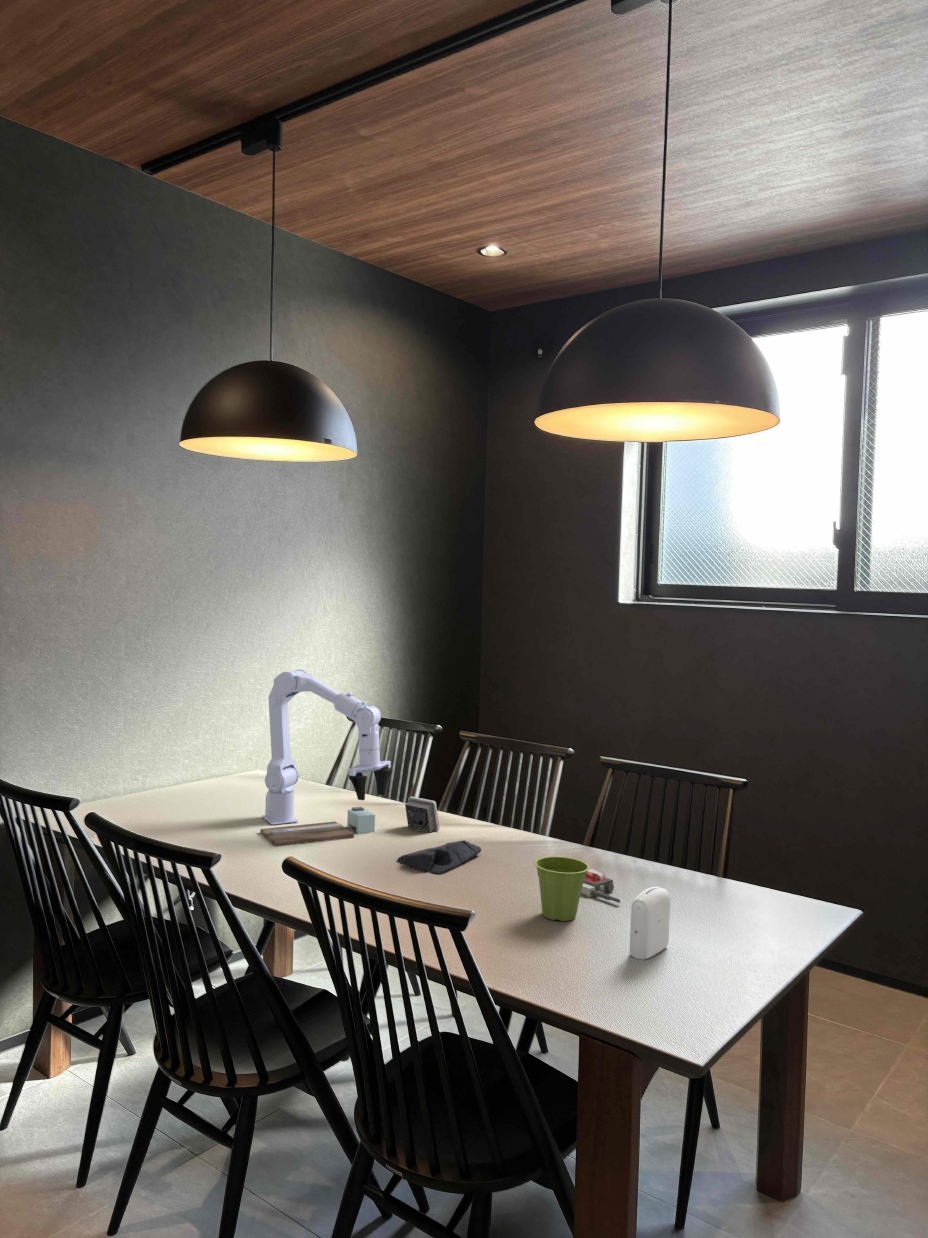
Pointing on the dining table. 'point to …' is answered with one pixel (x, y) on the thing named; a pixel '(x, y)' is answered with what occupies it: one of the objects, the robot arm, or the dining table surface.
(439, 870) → the dark slate chunk
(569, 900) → the plant pot
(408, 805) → the electrical switch
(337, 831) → the rail board
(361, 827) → the module
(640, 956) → the photo printer
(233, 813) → the dining table surface
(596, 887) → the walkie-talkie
